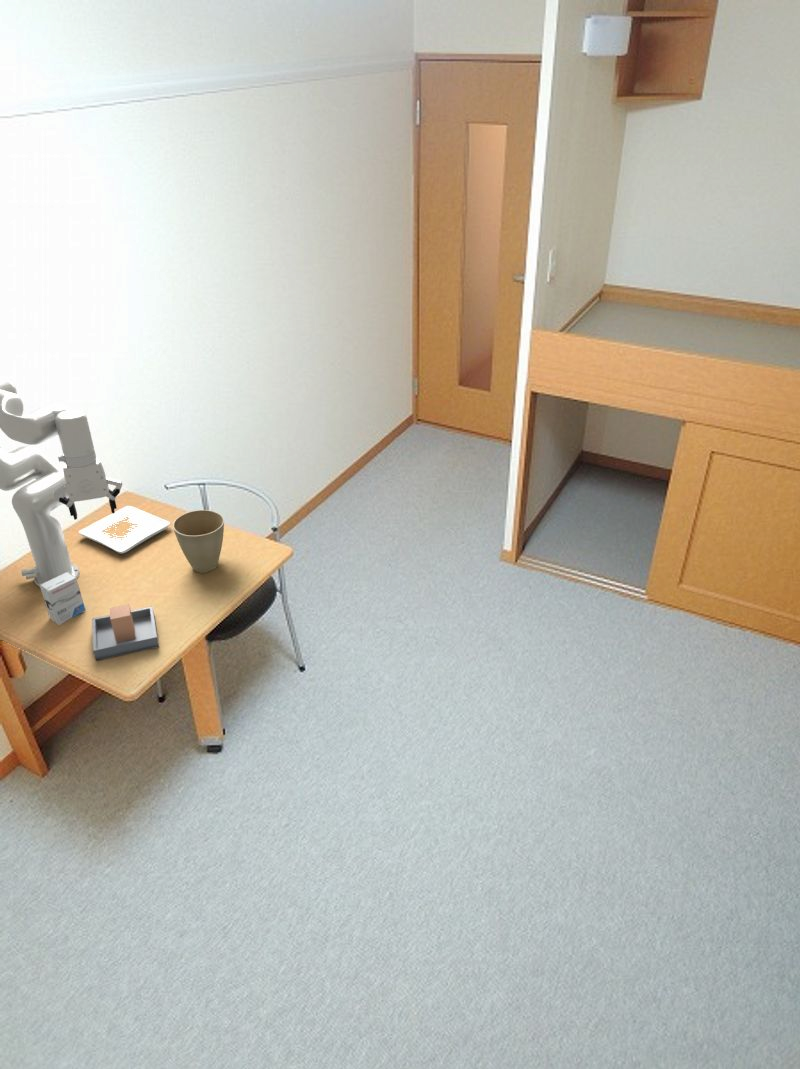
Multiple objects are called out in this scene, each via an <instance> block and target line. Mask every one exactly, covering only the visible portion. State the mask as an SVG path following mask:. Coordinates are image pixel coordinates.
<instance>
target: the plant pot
mask: <svg viewBox="0 0 800 1069" xmlns="http://www.w3.org/2000/svg"><path fill="white" fill-rule="evenodd" d="M172 528H173V531H174V534H175V537H176V540H177V542H178V545H179V546H180V549H181V550H182V553H183V554H184V556H185V559H186V560H187V561H188V563H189V565H190V566H191V567H192V570H194V571H195V572H198V573H208V572H209V573H210V572H212V571H213V570H215V569H216V568H217V566H218V564H219V560H220V556H221V553H222V552H221V551H222V547H223V543H224V542H223V541H224V534H225V533H224V530H225V518H224V516H223V515H222V514H221V513H219V512H217V511H214V510H209V509H197V510H192V511H191V510H190V511H187V512H185V513H183V514H181V515H179V516H178V517H177V518H175V519H174V521H173V523H172Z"/></svg>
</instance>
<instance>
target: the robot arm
mask: <svg viewBox="0 0 800 1069" xmlns="http://www.w3.org/2000/svg"><path fill="white" fill-rule="evenodd" d="M17 393H18V392H17V388H16V386H15V384H14V383H13V382H12V381H11V380H10V379H9V378H8V377H7V376H4V375H0V430H1V431H2V433H4V434H5V436H7V437H8V438H9V439H11V440H13V441H15V442H18V443H21V444H26V445H24V446H20V447H18V448H16V449H14V450H12V451H6V450H4V449H3V448H2V447H0V490H2V491H5V492H9V491H12V490H15V489H17V488H19V487H20V488H19V489H17V490H16V491H15V493H14V494H13V495H12V498H11V505H12V508H13V509H14V511H15V513H16V515H17V516H18V518H19V521H20V523H21V525H22V527H23V530H24V532H25V536H26V539H27V542H28V545H29V549H30V551H31V554H32V558H33V561H34V564H35V566H32V568H26V569H21V576H22V577H25V579H26V580H30V579H33V580H34V583H35V585H36V586H37V587H39V588H40V585H41V584H43V583H45V582H47V581H49V580H51V579H54V578H56V577H58V576H60V575H62V574H64V573H66V572H68V573H70V574H71V575H73V576H74V577H76V579H77V580H78V577H79V575H80V569H79V568H80V567H79V566H78V565H76V564H75V563H72V562H71V561H72V560H71V557H70V553H69V551H68V546H67V543H66V539H65V535H64V532H63V529H62V526H61V522H59V520H58V519H57V518H56V517H53V516H52V515H51V512H52V511H54V510H55V509H56V508H58V507H60V506H62V505H65V506H66V507H67V508H68V510H69V514H70V517H73V519H74V521H75V520H76V521H77V520H78V513H77V508H76V504H75V502H82V501H84V502H85V501H91V500H96V499H102V498H105V497H106V498H108V501H109V507H110V512H111V514H112V513H115V512H116V511H115V510H116V509H117V503H116V502H117V501H116V498H117V497H118V495H119V494H120V493H121V490H122V487H123V481H122V480H118V479H114V478H111V477H107V475H106V472H105V469H104V466H103V464H102V462H101V460H100V458H99V457H97V455H96V451H95V445H94V443H93V438H92V432H91V430H90V426H89V421H88V417H87V415H86V414H85V412H84V411H81V410H77V409H71V407H68V406H66V405H65V404H63V403H61V402H60V403H58V402H54V403H50V404H48V405H46V406H43V407H41V408H39V409H37V410H34V411H33V412H30V413H28V414H26V415H23V414H24V413H23V412H24V403H23V401H22V398H20V397H19V396H18V395H17ZM56 436H58V438H59V442H60V447H61V449H62V454H61V455H60V456H57V458H58V462H62V463H64V464H63V467H62V468H63V470H62V469H61V468H60V467H58V465H56V464H55V462H53V461H52V460H51V459H50V458H49V457H48V456H47V455H46V454H45V453H43V452H42V451H41V450H40V449H38V448H37V447H34V445H35V446H36V445H40V444H42V443H44V442H47V441H48V440H49V439H51V438H54V437H56ZM32 480H33V481H32ZM30 481H31V482H30ZM26 483H27V484H26ZM24 484H25V485H24ZM23 485H24V486H23ZM109 485H112V486H115V487H114V489H113V490H111V489H110V488H109ZM21 486H22V487H21Z"/></svg>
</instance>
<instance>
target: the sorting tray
mask: <svg viewBox="0 0 800 1069" xmlns="http://www.w3.org/2000/svg"><path fill="white" fill-rule="evenodd" d="M130 610H131V609H130ZM131 614H132V619H133V623H134V627H135V635H136V638H135V639H131V640H126V641H121V642H117V643H116V639H115V635H114V631H113V628H112V624H111V620H110V614H107V615H104V616H103V615H102V616H97V617H92V618H91V625H92V626H91V628H92V630H91V632H92V652H93V656H94V658H95V661H102V660H106V659H111V658H115V657H118V656H119V657H121V656H125V655H130V654H134V653H139V652H143V651H147V650H152V649H157V648H160V645H159V644H160V643H159V639H158V638H159V637H158V631H157V624H156V616H155V612H154V606H152V605H151V606H148V607H142V608H136V609H133V610H131Z"/></svg>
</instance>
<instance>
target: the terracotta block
mask: <svg viewBox="0 0 800 1069" xmlns="http://www.w3.org/2000/svg"><path fill="white" fill-rule="evenodd" d="M109 615H110V620H111V624H112V628H113V631H114V635H115V639H116V643H117V642H121V641H126V640H131V639H135V638H136V635H135V627H134V623H133V619H132V614H131V607H130V604H124V605H118V606H114V607H110V608H109Z"/></svg>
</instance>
